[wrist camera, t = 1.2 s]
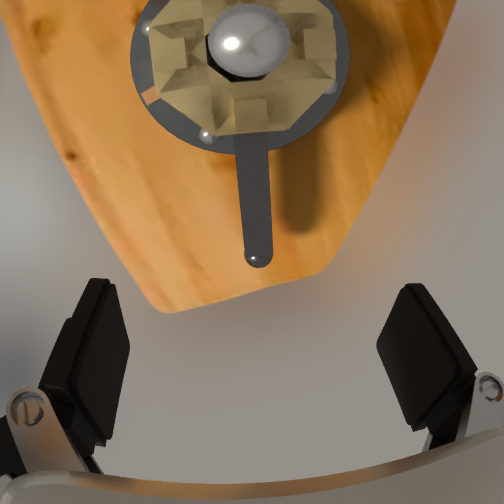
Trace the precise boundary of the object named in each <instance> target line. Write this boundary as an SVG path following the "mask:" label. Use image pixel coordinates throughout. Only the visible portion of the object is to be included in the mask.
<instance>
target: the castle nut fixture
mask: <svg viewBox="0 0 504 504" xmlns="http://www.w3.org/2000/svg"><path fill="white" fill-rule="evenodd" d="M242 4H256V5H261V6H264V7H267V8H269V9H271V10H273V11H274V12H275V13H277V14H278V15H279V16H280V17H281V18H282V19H283V21H284V22H285V24H286V25H287V28H288V30H289V34H290V47H289V51H288V54H287V56H286V58H285V59H284V61H283V62H282V63H281V64H280V65H279V66H278V67H277V68H276V69H274V70H273V71H271V72H269V73H267V74H264V75H261V76H257V77H256V78H248V79H236V80H230V79H229V78H228V77H226V76H225V75H224V74H222V73H221V72H220V71H218V70H217V69H216V68H214V67H213V66H212V65H211V55H210V50H209V46H208V35H209V31H210V28H211V26H212V24H213V22H214V21H215V19H216V18H217V17H218V16H219V15H220V14H221V13H223V12H224V11H226V10H227V9H229V8H231V7H234V6H237V5H242ZM330 13H331V11H329V10H328V9H327V8H326V7H325V6H324V5H323V4H322V3H320V2H319V1H318V0H170V1H169V2H168V4H167V5H166V6H165V7H164V8H163V9H162V10H161V11H160V13H159V14H158V15H157V16H156V17H155V18H154V20H153V21H152V22H151V23H150V24H149V26H150V27H148V33H149V42H150V52H151V60H152V68H153V76H154V84H155V91H156V93H158V95H157V96H159V97H160V98H161V99H163V100H164V101H166V102H167V103H169V104H170V105H171V106H173V107H174V108H176V109H177V110H179V111H180V112H181V113H183V114H184V115H185V116H187V117H188V118H190V119H191V120H192V121H194V122H195V123H197V124H198V125H199V126H201V127H202V128H203V129H205V130H206V131H207V132H209V133H210V134H211V135H214V134H215V136H222V135H232V134H233V138H234V148H235V159H236V169H237V179H238V189H239V199H240V209H241V219H242V229H243V239H244V248H245V250H244V257H245V260H246V262H247V263H248V264H249V265H250V266H252V267H254V268H263V267H265V266H267V265H268V264H269V263H270V262H271V260H272V257H273V239H272V218H271V199H270V180H269V162H268V145H267V131H283V130H286V128H287V129H289V128H290V127H291V126H292V125H293V124H294V123H295V122H296V121H297V120H298V119H299V117H300V116H301V115H302V114H303V113H304V112H305V111H306V110H307V109H308V108H309V107H310V106H311V105H312V104H313V103H314V102H315V101H316V100H317V99H318V98H319V97H320V96H321V95H322V94H323V93H324V92H325V91H326V90H327V89H328V88H329V87H330V86H331V85H332V84H333V83H334V82H335V81H334V80H333V79H336V67H335V60H337V56H336V37H335V30H334V28H333V14H330Z"/></svg>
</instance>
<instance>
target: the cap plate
mask: <svg viewBox="0 0 504 504" xmlns="http://www.w3.org/2000/svg"><path fill="white" fill-rule="evenodd" d="M169 1H170V0H149V2H148V3H147V5H146V6H145V8H144V10H143V11H142V13H141V15H140V17H139V19H138V22H137V24H136V27H135V30H134V33H133V37H132V43H131V50H130V64H131V71H132V77H133V80H134V84H135V87H136V90H137V92H138V94H139V96H140V98H141V100H142V102H143V104H144V105H145V107H146V108H147V110H148V111H149V113H150V114H151V115H152V116H153V117H154V118H155V120H156V121H157V122H158V123H159V124H160V125H162V126H163V127H164V128H165V129H166V130H167V131H169V132H170V133H172V134H173V135H174V136H176V137H177V138H179V139H181V140H183V141H185V142H187V143H189V144H191V145H193V146H196V147H199V148H201V149H204V150H208V151H213V152H217V153H224V154H235V148H234V138H233V134H232V135H222V136H215V134H214V135H211V134H210V133H209V132H207V131H206V130H205V129H203V128H202V127H201V126H199V125H198V124H197V123H195V122H194V121H192V120H191V119H190V118H188V117H187V116H185V115H184V114H183V113H181V112H180V111H179V110H177V109H176V108H174V107H173V106H171V105H170V104H169V103H167V102H166V101H164V100H163V99H161V98H160V97H159V96H157V95H158V93H156V91H155V84H154V76H153V68H152V60H151V52H150V42H149V33H148V27H150V26H149V24H150V23H151V22H152V21H153V20H154V18H155V17H156V16H157V15H158V14H159V13H160V11H161V10H162V9H163V8H164V7H165V6H166V5H167V4H168V2H169ZM318 1H319V2H320V3H322V4H323V5H324V6H325V7H326V8H327V9H328V10H329V11H331V13H330V14H333V28H334V30H335V37H336V56H337V60H335V67H336V79H333V80H334V81H335V82H334V83H333V84H332V85H331V86H330V87H329V88H328V89H327V90H326V91H325V92H324V93H323V94H322V95H321V96H320V97H319V98H318V99H317V100H316V101H315V102H314V103H313V104H312V105H311V106H310V107H309V108H308V109H307V110H306V111H305V112H304V113H303V114H302V115H301V116H300V117H299V119H298V120H297V121H296V122H295V123H294V124H293V125H292V126H291V127H290V128H289V129H287V128H286V130H283V131H267V145H268V151H269V150H273V149H276V148H279V147H282V146H285V145H287V144H289V143H291V142H293V141H295V140H297V139H299V138H300V137H302V136H303V135H305V134H307V133H308V132H309V131H311V130H312V129H313V128H314V127H315V126H317V125H318V124H319V123H320V122H321V121H322V120H323V119H324V118H325V117H326V116H327V114H328V113H329V112H330V110H331V109H332V108H333V106H334V105H335V103H336V102H337V100H338V98H339V96H340V94H341V92H342V90H343V87H344V84H345V82H346V78H347V73H348V69H349V58H350V52H349V41H348V36H347V31H346V28H345V25H344V22H343V20H342V17H341V15H340V13H339V11H338V10H337V8H336V6H335V4H334V3H333V2H332V0H318ZM208 46H209V50H210V55H211V65H212V66H213V67H214V68H216V69H217V70H218V71H220V72H221V73H222V74H224V75H225V76H226V77H228V78H229V79H230V80H236V79H248V78H256V77H257V76H261V75H264V74H267V73H269V72H271V71H273V70H274V69H276V68H277V67H278V66H279V65H280V64H281V63H282V62H283V61H284V59H285V58H286V56H287V54H288V51H289V47H290V34H289V30H288V28H287V25H286V24H285V22H284V21H283V19H282V18H281V17H280V16H279V15H278V14H277V13H275V12H274V11H273V10H271V9H269V8H267V7H264V6H261V5H256V4H242V5H237V6H234V7H231V8H229V9H227V10H226V11H224V12H223V13H221V14H220V15H219V16H218V17H217V18H216V19H215V21H214V22H213V24H212V26H211V28H210V31H209V35H208Z"/></svg>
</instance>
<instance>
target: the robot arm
mask: <svg viewBox="0 0 504 504" xmlns="http://www.w3.org/2000/svg"><path fill="white" fill-rule="evenodd" d="M376 346H377V351H378V353H379V356H380V358H381V360H382V363H383V365H384V367H385V370H386V372H387V374H388V377H389V379H390V382H391V384H392V387H393V389H394V392H395V394H396V397H397V399H398V402H399V404H400V407H401V409H402V412H403V415H404V417H405V420H406V422H407V424H408V425H411V428H412V430H413V432H414V431H418V430H421V429H425V428H426V427H428V430H429V433H428V436H427V439H426V442H425V444H424V447H423V450H422V453H419V454H416V455H413V456H410V457H407V458H403V459H399V460H395V461H392V462H388V463H384V464H380V465H376V466H372V467H368V468H363V469H359V470H354V471H349V472H344V473H338V474H333V475H327V476H321V477H314V478H306V479H298V480H289V481H279V482H266V483H247V484H194V483H177V482H163V481H151V480H141V479H133V478H126V477H119V476H111V475H104V473H103V472H102V470H101V469H100V467H99V466H98V464H97V462H96V461H95V459H94V458H93V456H92V454H94V448H95V445H96V446H102V447H105V446H106V440H107V439H108V440H110V439H111V438H112V435H113V429H114V423H115V418H116V412H117V407H118V402H119V397H120V392H121V387H122V383H123V377H124V373H125V369H126V365H127V360H128V356H129V351H130V344H129V339H128V335H127V332H126V328H125V324H124V320H123V316H122V312H121V308H120V303H119V299H118V295H117V291H116V286H115V284H111V283H110V281H109V279H101V278H91V279H90V280H89V282H88V284H87V286H86V288H85V290H84V292H83V294H82V296H81V298H80V300H79V302H78V304H77V307H76V309H75V311H74V313H73V315H72V317H71V318H68V319H66V321H65V323H64V325H63V327H62V329H61V331H60V334H59V336H58V338H57V341H56V343H55V345H54V348H53V350H52V352H51V355H50V357H49V360H48V362H47V365H46V368H45V370H44V372H43V375H42V378H41V380H40V383H39V386H38V388H35V387H25V388H21V389H19V390H17V391H16V392H14V393H13V395H12V396H11V397H10V398H9V400H8V403H7V405H6V415H5V416H4V417H2V418H0V504H504V384H503V382H502V381H501V380H500V379H499V378H498V377H497V376H496V375H494V374H493V373H489V372H483V373H480V374H479V375H478V376H477V377H476V376H475V375H474V373H475V372H476V371H477V370H478V369H477V367H476V365H475V364H474V362H473V360H472V358H471V357H470V355H469V353H468V352H467V350H466V348H465V347H464V345H463V344H462V342H461V340H460V339H459V337H458V335H457V334H456V332H455V331H454V329H453V328H452V326H451V324H450V323H449V321H448V320H447V318H446V317H445V315H444V314H443V312H442V311H441V309H440V308H439V307H438V305H437V304H436V302H435V301H434V299H433V298H432V296H431V295H430V294H429V292H428V291H427V289H426V288H425V286H424V285H423V284H421V283H410V284H406V285H405V286H404V288H402V289H401V290H400V292H399V294H398V297H397V299H396V301H395V303H394V306H393V308H392V310H391V312H390V314H389V317H388V319H387V321H386V323H385V326H384V327H383V329H382V332H381V334H380V336H379V338H378V340H377V345H376Z"/></svg>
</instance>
